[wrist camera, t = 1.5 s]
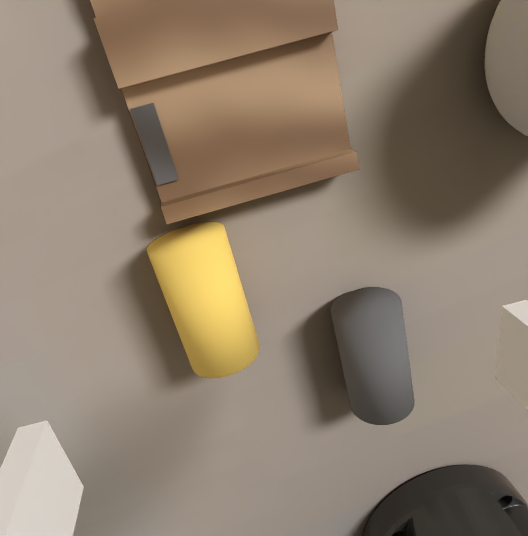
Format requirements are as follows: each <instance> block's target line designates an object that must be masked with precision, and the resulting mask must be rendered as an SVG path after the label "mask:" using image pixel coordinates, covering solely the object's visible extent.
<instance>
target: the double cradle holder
mask: <svg viewBox="0 0 528 536" xmlns="http://www.w3.org/2000/svg"><path fill="white" fill-rule="evenodd" d="M90 2H91V4H92V7H93V10H94V13H95V16H96V18H93V19H94V22H95V24H96V27H97V30H98V33H99V36H100V38H101V41H102V44H103V47H104V50H105V52H106V55H107V58H108V61H109V64H110V67H111V69H112V72H113V75H114V78H115V81H116V83H117V86H118V89H122V92H123V95H124V98H125V101H126V103H127V106H128V109H129V112H130V115H131V118H132V120H133V123H134V126H135V129H136V132H137V134H138V137H139V140H140V143H141V146H142V149H143V151H144V154H145V157H146V160H147V163H148V166H149V168H150V171H151V174H152V177H153V180H154V182H155V185H156V188H157V191H158V194H159V197H160V199H161V202H162V203H161V210H162V212H163V215H164V218H165V221H166V224H170V223H174V222H177V221H181V220H184V219H188V218H191V217H195V216H198V215H202V214H205V213H209V212H212V211H216V210H219V209H223V208H226V207H230V206H233V205H237V204H240V203H243V202H247V201H250V200H254V199H257V198H261V197H264V196H268V195H271V194H275V193H278V192H282V191H285V190H289V189H292V188H296V187H299V186H303V185H306V184H310V183H313V182H317V181H320V180H324V179H327V178H331V177H334V176H338V175H341V174H345V173H348V172H352V171H355V170H359V162H358V156H357V151H355V150H352V149H351V148H350V142H349V136H348V130H347V123H346V117H345V111H344V104H343V98H342V92H341V86H340V79H339V73H338V67H337V60H336V54H335V48H334V42H333V35H332V32H333V31H336V30H338V25H337V19H336V12H335V6H334V0H90Z"/></svg>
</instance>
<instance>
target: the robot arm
mask: <svg viewBox="0 0 528 536" xmlns="http://www.w3.org/2000/svg"><path fill="white" fill-rule="evenodd" d="M495 378H496V379H497V380H498V381H499V382H500V383H501V384H502V385H503V386H504V387H505V388H506V389H507V391H508V392H509V393H510V394H511V395H512V396H513V397H514V398H515V399H516V400H517V401H518V402H519V403H520V404H521V405H522V406H523V407H524V408H525V409H526V410H527V411H528V301H527V300H524V301H520V302H516V303H512V304H508V305H504V306H502V312H501V323H500V333H499V344H498V355H497V365H496V376H495ZM83 488H84V487H83V485H82V483H81V481H80V479H79V478H78V476H77V474H76V472H75V470H74V468H73V467H72V465H71V463H70V461H69V459H68V458H67V456H66V454H65V452H64V450H63V449H62V447H61V445H60V443H59V441H58V439H57V438H56V436H55V434H54V432H53V430H52V429H51V427H50V425H49V423H48V421H43V422H39V423H35V424H31V425H27V426H23V427H19V428H18V429H17V432H16V434H15V436H14V438H13V441H12V443H11V445H10V448H9V450H8V452H7V455H6V457H5V459H4V462H3V464H2V466H1V468H0V536H73V533H74V528H75V524H76V519H77V515H78V510H79V506H80V501H81V497H82V492H83ZM363 536H528V505H527V503H526V501H525V500H524V499H523V497H522V496H521V495H520V494H519V492H518V491H517V490H516V489H515V487H514V486H513V485H512V484H511V482H510V481H509V480H508V479H507V478H506V477H505V476H504V475H502V474H501V473H499V472H498V471H496V470H493V469H491V468H488V467H484V466H478V465H456V466H450V467H445V468H440V469H437V470H434V471H431V472H428V473H426V474H423V475H421V476H419V477H417V478H415V479H413V480H411V481H409V482H407V483H406V484H404V485H403V486H401V487H400V488H398V489H397V490H395V491H394V492H393V493H392V494H390V495H389V496H388V497H387V498H386V499H385V500H384V501H383V502H382V503H381V504H380V505H379V506H378V508H377V509H376V510H375V511H374V513H373V514H372V516H371V517H370V519H369V521H368V523H367V525H366V527H365V530H364V533H363Z"/></svg>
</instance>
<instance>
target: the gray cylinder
mask: <svg viewBox="0 0 528 536" xmlns="http://www.w3.org/2000/svg"><path fill="white" fill-rule="evenodd" d="M330 311H331V316H332V321H333V326H334V330H335V335H336V340H337V345H338V349H339V354H340V359H341V364H342V368H343V373H344V378H345V383H346V387H347V392H348V397H349V402H350V407H351V409H352V411H353V413H354V414H355V415H356V416H357V417H358V418H359V419H361V420H363V421H364V422H367V423H370V424H375V425H388V424H393V423H396V422H399V421H401V420H403V419H404V418H406V417H407V416H408V415H409V414H410V413H411V411H412V409H413V407H414V394H413V387H412V379H411V371H410V364H409V356H408V348H407V341H406V333H405V325H404V318H403V310H402V302H401V298H400V297H399V295H398V294H396V293H395V292H393V291H391V290H388V289H385V288H379V287H366V288H361V289H358V290H354V291H351V292H348V293H344V294H342V295H341V296H339V297H338V298H337V299H335V300H334V302H333V303H332V305H331V308H330Z"/></svg>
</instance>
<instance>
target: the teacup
mask: <svg viewBox="0 0 528 536" xmlns="http://www.w3.org/2000/svg"><path fill="white" fill-rule="evenodd" d="M485 75H486V81H487V85H488V90H489V92H490V95H491V98H492V100H493V102H494V104H495V106H496V108H497V109H498V111H499V113H500V114H501V115H502V116H503V118H504V119H505V120H506V121H507V122H508V123H509V124H510V125H511V126H512V127H514V128H515V129H516V130H518V131H519V132H521V133H523V134H524V135H526V136H528V0H501V1H500V3H499V5H498V6H497V9H496V11H495V14H494V16H493V19H492V22H491V24H490V28H489V32H488V36H487V42H486V49H485Z"/></svg>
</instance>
